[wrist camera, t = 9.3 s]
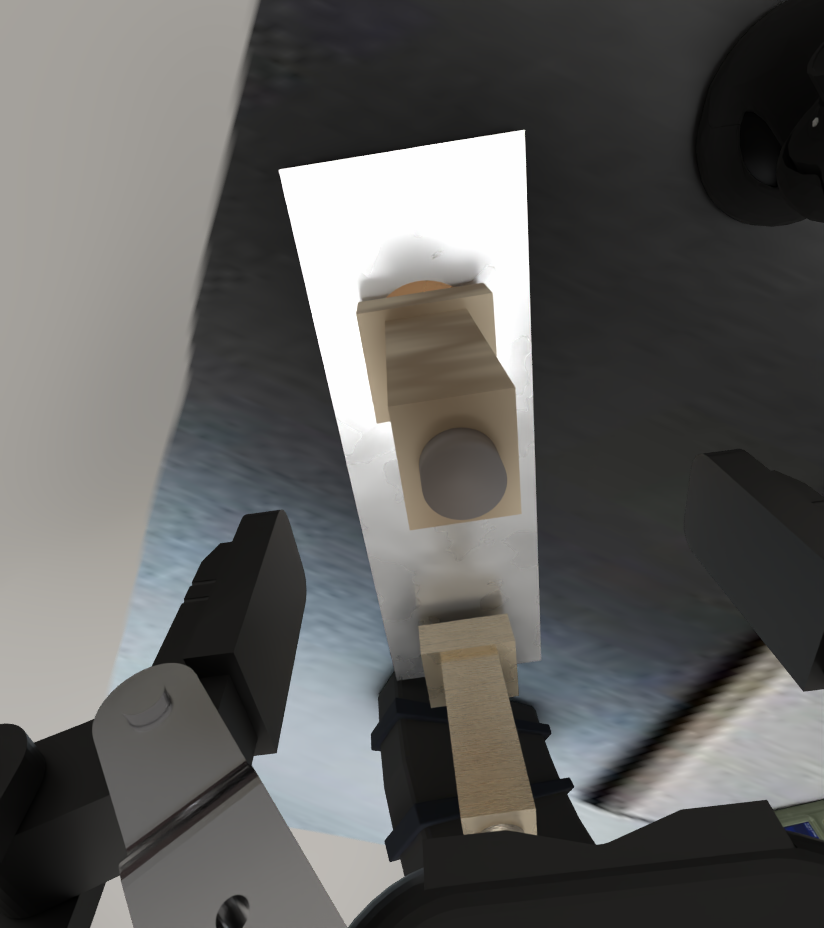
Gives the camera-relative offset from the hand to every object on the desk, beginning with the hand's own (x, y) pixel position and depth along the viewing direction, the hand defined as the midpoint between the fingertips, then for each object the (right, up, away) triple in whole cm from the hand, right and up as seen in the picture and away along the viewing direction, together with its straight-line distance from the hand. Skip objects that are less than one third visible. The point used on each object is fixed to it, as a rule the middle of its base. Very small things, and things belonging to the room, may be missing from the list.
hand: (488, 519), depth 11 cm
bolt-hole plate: (0, +1, +16) cm, 17 cm away
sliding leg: (-1, +6, +12) cm, 13 cm away
